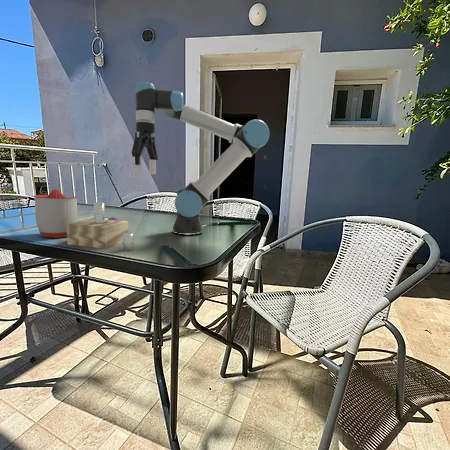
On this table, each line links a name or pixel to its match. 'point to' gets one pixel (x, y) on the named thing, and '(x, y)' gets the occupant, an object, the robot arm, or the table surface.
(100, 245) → the hole block
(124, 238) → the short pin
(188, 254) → the table surface
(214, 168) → the robot arm
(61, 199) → the citrus juicer
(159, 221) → the table surface
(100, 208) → the long pin
